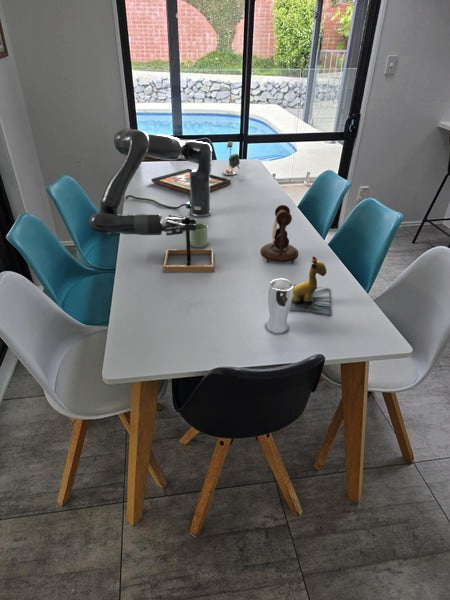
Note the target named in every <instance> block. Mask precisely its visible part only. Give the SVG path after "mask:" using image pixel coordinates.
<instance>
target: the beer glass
mask: <svg viewBox="0 0 450 600" xmlns="http://www.w3.org/2000/svg"><path fill="white" fill-rule="evenodd" d="M293 284H294V283H293V282H292V281H291V280H288V279H287V278H276V279H272V281H270V283H269V287H268V288H269V289H268V296H267V305H268V315H269V316H268V320H267V324H266V328H267V329H268V331H270V332H271V333H274V334H283V333H285V332H287V330H288V317H289V313H290V311H291V310H290V308H291V305H292V300H293V287H294V285H295V284H294V285H293Z"/></svg>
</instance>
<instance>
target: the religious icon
mask: <svg viewBox="0 0 450 600" xmlns="http://www.w3.org/2000/svg"><path fill="white" fill-rule="evenodd" d="M193 170H194V169H190V168H185V169H181V170H179V171H176V172H172V173H171V172H170V173H169V174H165V175H161V176H157V177H154V178H151V182H152V183H154V184H157V185H160V186H163V187H166V188H169V189H173V190H175V191H178V192H182V193H185V194H188V195H189V194H190V172H191V171H193ZM231 183H232V180H231V179H228V178H225V177H222V176H218V175H214V174H210V192H211V191H215V190H216V189H219V188H222V187H224V186H227V185H231Z"/></svg>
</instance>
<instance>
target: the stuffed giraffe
mask: <svg viewBox="0 0 450 600" xmlns="http://www.w3.org/2000/svg"><path fill="white" fill-rule="evenodd" d="M317 274H318V275H320V276H321V277H325V276H326V274H327V268H326V265H325V263H324V262H323V261H321V260H320V261H319V260H318V258H317V257H316V256H312V259H311V265H310V268H309V272H308V280H307V281H304V282H300V283H298V284H294V283H293V285H294V287H293V300H292V305H291V308H290V311H291V310H292V311H301V312H302V311H303V312H310V313H317V314H322V315H327V316H328V315H329V316H331V303H330V302H331V299H330V288H328V287H318V280H317Z"/></svg>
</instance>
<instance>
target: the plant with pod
mask: <svg viewBox="0 0 450 600" xmlns="http://www.w3.org/2000/svg"><path fill="white" fill-rule="evenodd" d="M233 144H234V142H233V141H231V140H228V142H227V144H226V149H228V148H229V158H228V163H229V168H226V169H225V171H224V170H223V172H222V173H223V174H224V175H225V176H226V175H227V176H230V175H235V174H237V172H235V171H234V169H235V168H236V167H237V168H238V170H241V168H240V166H239V165H240V161H241V160H240V154H238V153H234V154H232V148H233Z"/></svg>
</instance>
